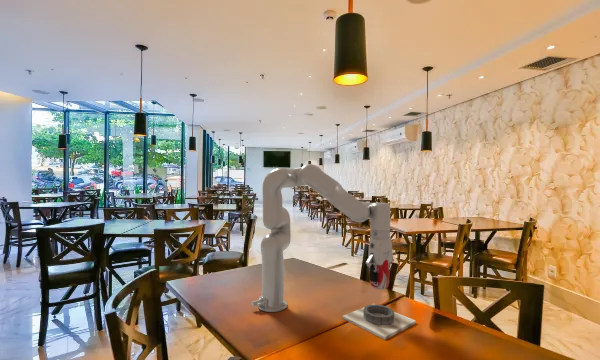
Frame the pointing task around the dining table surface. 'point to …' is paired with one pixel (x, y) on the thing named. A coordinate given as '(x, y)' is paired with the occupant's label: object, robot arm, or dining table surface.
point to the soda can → (382, 276)
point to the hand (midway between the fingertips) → (379, 279)
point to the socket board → (378, 328)
